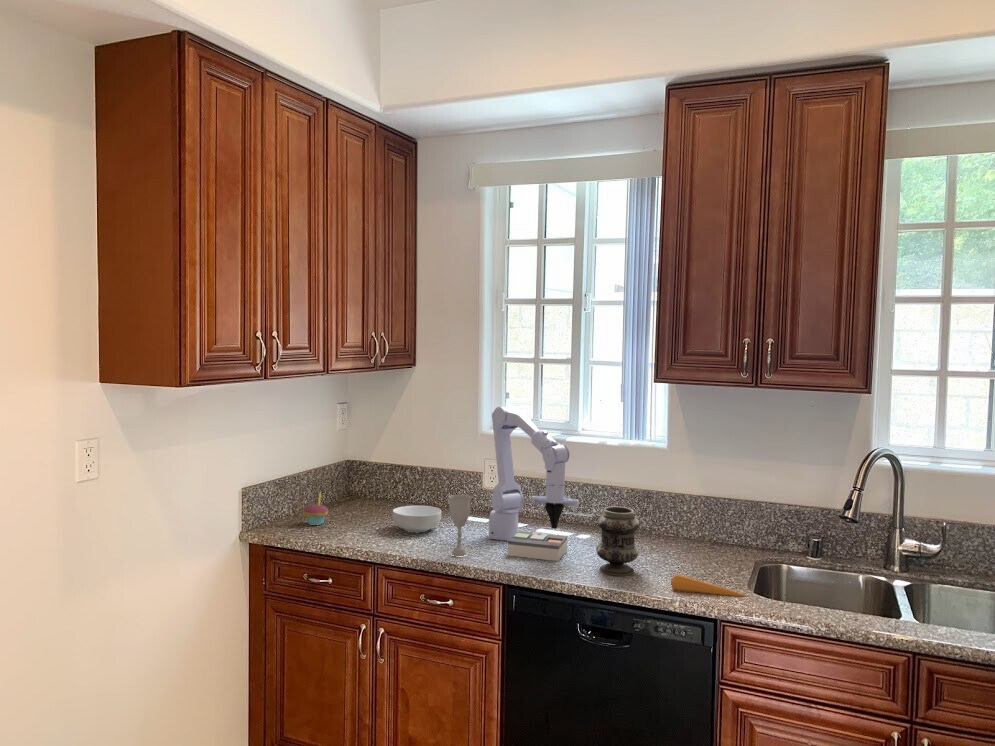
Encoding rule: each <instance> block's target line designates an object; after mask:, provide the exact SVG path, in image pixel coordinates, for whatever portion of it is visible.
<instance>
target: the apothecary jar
mask: <svg viewBox="0 0 995 746" xmlns="http://www.w3.org/2000/svg"><path fill="white" fill-rule="evenodd" d="M597 524H598V527H599V528H600V529H601V538H600V542H599V543H598V545H597V546H596V549H595V551H596V554H597V555H598V557H599V558H601V559H602V560H603V561H605V562H608V563H606V564H603V565H601V566H600V567H599V571H600V572H601V573H603V574H605V575H610V576H614V577H615V576H616V577H624V576H631V575H633V574H634V571H635V570H634V568H632V567H631V566H629V565H628V563H631V562H633V561H635V560H636V559H637V558H638V556H639V549H638V548H637V546H636V545H635V535H636V534H635V533H636V531H637V530H638V529H639V527H640V521H639V519H638V518H637V517H636V516H635V511H634V509H632V508H631V507H626V506H620V505H619V506H618V505H613V506H612V505H610V506H606V507H604V510H603V513H602V515H600V516H599V518H598V520H597Z"/></svg>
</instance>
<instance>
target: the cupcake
mask: <svg viewBox="0 0 995 746" xmlns="http://www.w3.org/2000/svg"><path fill="white" fill-rule="evenodd" d="M321 497H322V489H320V491H319V493H318V502H317V503H313V504H311V505H308V506H306V508H304V509H303V516H304V517H305V518H306V520H307V522H308V525H309V524H321V523H323V524H324V522H325V520H326V519H325V518H326V517H327V516H328V514H329V509H328V508H327V506H326V505H324V504H321Z"/></svg>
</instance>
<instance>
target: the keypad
mask: <svg viewBox="0 0 995 746" xmlns="http://www.w3.org/2000/svg"><path fill="white" fill-rule="evenodd" d="M517 533H523V534H530V537H531V536H532V535H542V536H546V539H545V540H544V541H536V540H530V537H529V538H528V539H517V538H514V536H515V535H516V534H517ZM517 533H516V534H515V535H514V536H513V537H512V538H511V539H509V540H508V541H507V556H509V555H510V557H521V558H529V559H538V560H539V559H540V560H546V561H555V562H559V561H560V560H561V558H562V557H563V556H564V555H565V553H566V552H567V551H568V536H567V535H562V534H561V535H559V534H548V533H540V532H528V531H520V530H518V532H517ZM549 539H550V540H560V541H561V543H556V542H547V541H548V540H549Z"/></svg>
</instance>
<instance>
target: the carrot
mask: <svg viewBox="0 0 995 746" xmlns="http://www.w3.org/2000/svg"><path fill="white" fill-rule="evenodd" d="M670 585H671V589H672V590H673V589H674V591H676V590H678V591H677V592H684V591H690V592H689V593H695V592H701V593H700V594H706V593H711V594H710V595H716V594H720V595H719V596H728V595H729V597H741V598H742V597H745V598H749V596H747V595H745V594H742V593H740V592H739V593H738V591H737V592H736V591H733V590H731V589H728V588H725V587H721V586H719V585H718V586H717V585H716V584H713V583H709V582H706V581H703V580H699V579H695V578H694V577H693V578H692V577H690V576H686V575H683V574H674V575H673V576H672V577H671V581H670Z"/></svg>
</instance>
